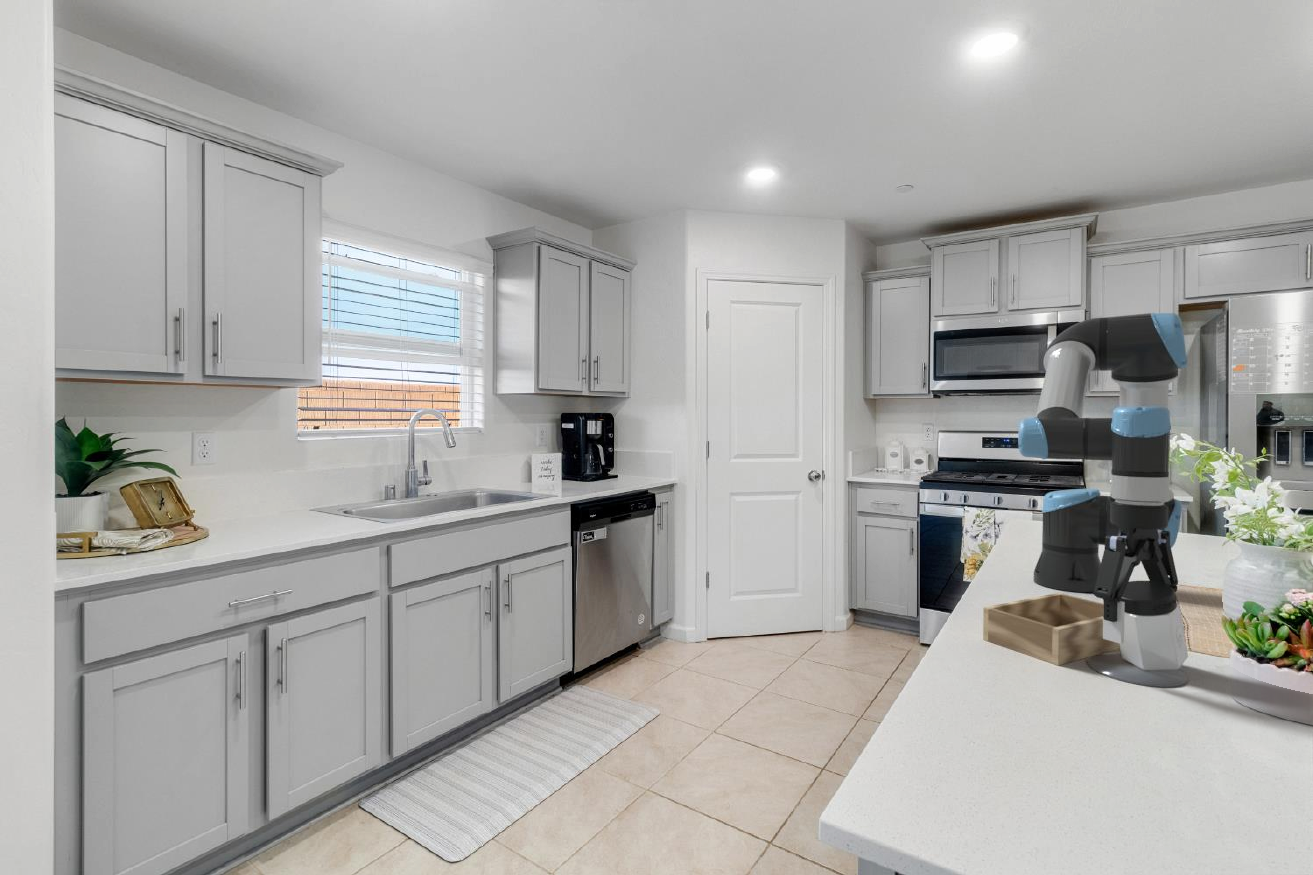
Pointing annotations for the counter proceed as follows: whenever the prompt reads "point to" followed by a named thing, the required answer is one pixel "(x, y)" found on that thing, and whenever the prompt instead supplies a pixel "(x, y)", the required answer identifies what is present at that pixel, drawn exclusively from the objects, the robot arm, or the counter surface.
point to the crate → (1049, 628)
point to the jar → (1152, 627)
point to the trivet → (1135, 672)
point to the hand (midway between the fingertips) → (1136, 634)
